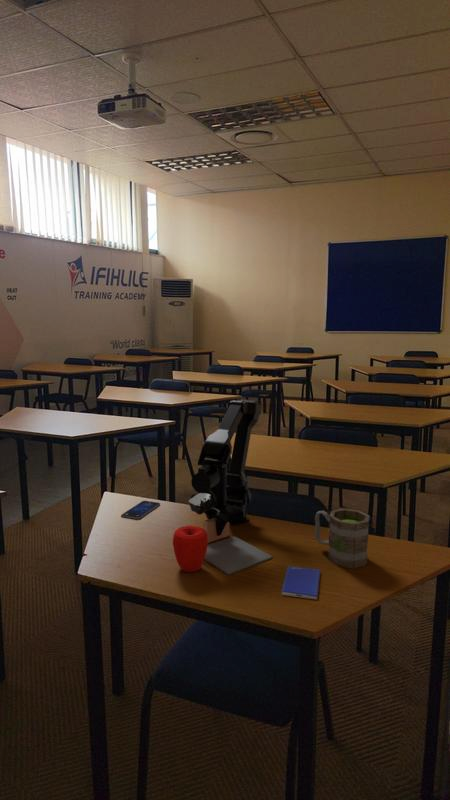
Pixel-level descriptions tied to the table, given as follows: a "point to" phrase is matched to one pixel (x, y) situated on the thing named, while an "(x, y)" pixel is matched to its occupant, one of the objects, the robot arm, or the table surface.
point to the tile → (214, 530)
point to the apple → (190, 547)
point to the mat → (234, 555)
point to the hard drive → (301, 582)
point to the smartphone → (140, 510)
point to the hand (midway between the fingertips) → (216, 533)
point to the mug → (345, 537)
